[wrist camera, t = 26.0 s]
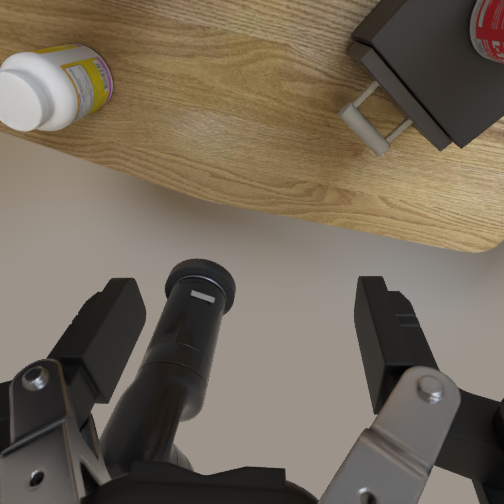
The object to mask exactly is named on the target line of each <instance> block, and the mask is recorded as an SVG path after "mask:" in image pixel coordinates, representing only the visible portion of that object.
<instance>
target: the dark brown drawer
mask: <svg viewBox="0 0 504 504" xmlns="http://www.w3.org/2000/svg"><path fill="white" fill-rule="evenodd" d="M347 52H348V54H349V55H350V56H351V57H352V58H353V59H354V60H355V61H356V63H357V64H358V65H359V66H360V67H361V68H362V69H363V70H364V72H365V73H366V74H367V75H368V76H369V77H370V78H371V79H372V82H371V83H370V84H369V86H368V87H367V88H366V89H365V90H364V91H363V92H362V93H361V94H360V95H359V96H358V97H357V98H356V99H355V100H354V101H353V102H352V103H351V102H349V103H347V104H346V105H344V106H343V107H342V108H341V110H340V111H339V113H338V116H339V117H340V118H341V119H342V120H343V121H344V123H345V124H346V125H347V126H348V127H349V128H350V129H351V130H352V131H353V132H354V133H355V134H356V135H357V136H358V137H359V138H360V139H361V140H362V141H363V142H364V143H365V144H366V145H367V146H368V147H369V148H370V149H371V150H372V151H373V152H374V153H375V154H376V155H377V156H380V155H382V154H384V153H385V152H386V151H387V150H388V148H389V147H390V144H389V143H391V142H392V141H393V140H394V139H395V138H396V137H397V136H398V135H400V134H401V133H402V132H403V131H404V130H405V129H406V128H407V127H409V126H410V125H412V126H413V127H414V128H415V129H416V130H417V131H418V132H419V133H421V134H422V135H423V136H424V137H425V138H426V139H427V140H428V141H429V142H430V143H432V144H433V145H434V146H435V147H436V148H437V149H438V150H439V151H442V150H443V149H444V148H446V147H447V146H448V145H449V144H451V143H452V141H451V140H450V139H449V137H448V136H447V135H446V134H445V133H444V132H443V130H442V129H441V128H440V127H439V126H438V125H437V123H436V122H435V121H434V120H433V119H432V118H431V116H430V115H429V114H428V113H427V112H426V111H425V109H424V108H423V107H422V106H421V105H420V103H419V102H418V101H417V100H416V99H415V98H414V96H413V95H412V94H411V93H410V92H409V91H408V89H407V88H406V87H405V86H404V85H403V84H402V82H401V81H400V80H399V79H398V78H397V76H396V75H395V74H394V73H393V72H392V71H391V69H390V68H389V67H388V66H387V65H386V64H385V62H384V61H383V60H382V59H381V58H380V57H379V55H378V54H377V53H376V52H375V51H374V50H373V48H371V47H369V46H367V45H364V44H362V43H360V42H357V41H355V42H354V43H353V44H352V45H351V46H350V48H349V49H348V50H347ZM377 87H379V88H380V90H381V91H382V92H383V93H384V94H385V95H386V96H387V97H388V99H389V100H390V101H391V102H392V103H393V104H394V105H395V106H396V108H397V109H398V110H399V111H400V112H401V113H402V114H403V116H404V117H405V118H406V119H405V120H404V121H403V122H402V123H401V124H399V125H398V126H397V127H396V128H395V129H394V130H393V131H392V132H391V133H389V134H388V135H387V136H386V137H385V138H384V137H383V136H382V135H381V134H380V133H379V132H378V131H377V130H376V129H375V128H374V127H373V126H372V125H371V123H370V122H369V121H368V120H367V119H366V118H365V117H364V116H363V115H362V114H361V113H360V112H359V111H358V110H357V109H356V108H357V107H358V106H359V105H360V104H361V103H362V102H363V101H364V100H365V99H366V98H367V97H368V96H369V95H370V94H371V93H372V92H373V91H374V90H375V89H376V88H377Z"/></svg>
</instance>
